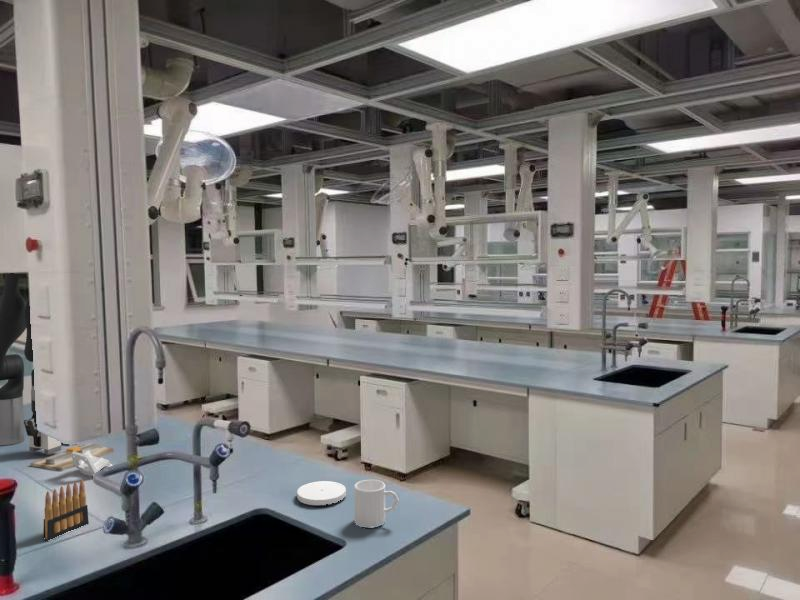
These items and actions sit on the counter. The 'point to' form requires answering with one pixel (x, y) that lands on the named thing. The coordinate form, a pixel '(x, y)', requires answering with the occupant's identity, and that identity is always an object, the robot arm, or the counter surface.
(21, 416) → the robot arm
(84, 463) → the mounting bracket
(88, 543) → the counter surface
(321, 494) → the plastic lid
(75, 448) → the block
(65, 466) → the rail board
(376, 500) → the mug
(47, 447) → the block
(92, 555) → the counter surface
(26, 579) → the counter surface
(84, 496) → the ammunition clip
